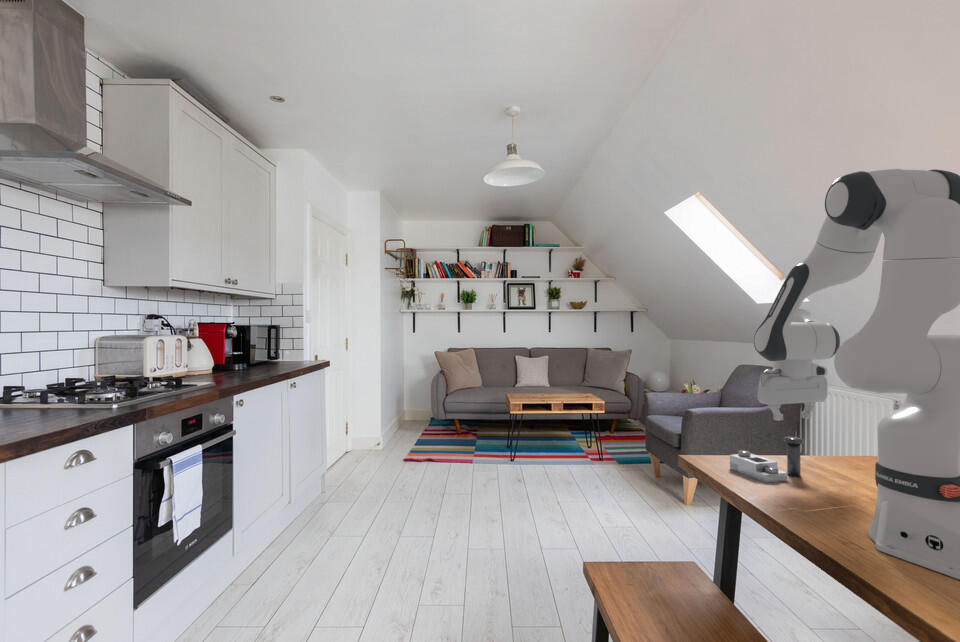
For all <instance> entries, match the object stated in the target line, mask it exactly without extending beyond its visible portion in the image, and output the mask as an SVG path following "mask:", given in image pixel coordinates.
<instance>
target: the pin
mask: <svg viewBox="0 0 960 642" xmlns="http://www.w3.org/2000/svg"><path fill="white" fill-rule="evenodd" d="M783 442H784V443H786V465H787V467H786V469H787V470H786V471H787V472H786V473H787V476H789V477H794V478H801V474H802V473H801V470H802V469H801V445H803V444H804V439H803V438H801V437H796V436H783Z"/></svg>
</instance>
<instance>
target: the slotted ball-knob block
mask: <svg viewBox="0 0 960 642" xmlns="http://www.w3.org/2000/svg"><path fill="white" fill-rule="evenodd" d="M729 469H730V470H731V471H734V472H737V473H740V474H741V475H742V474H743V475H744V476H748V477H750V478H752V479H755V480H758V481H760V482H763V483H765V484H767V483H777V482H783V481H784V482H786V481H788V475H787V472H786V471H783V470H780V469H779V468H778V461H775V460H773V459H769V458H766V457H763V456H761V455H758V454H754V453H751V451H749V450H738V451H737V454H735V453H734V454H729Z"/></svg>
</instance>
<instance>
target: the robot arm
mask: <svg viewBox="0 0 960 642" xmlns="http://www.w3.org/2000/svg"><path fill="white" fill-rule="evenodd" d="M825 195H826V196H825V199H824V210H825V214H826V216H825V219H824V222H822V225H821V227H820V230H819V232H818V236H817V238H816V242H815V244H814V245H813V248H812V249H811V251H810V253H808V255H807V256H806V257H805V258H804V259H803V260H802V261H801V262H800V263H798V264H797V265H795V266H794V267H792V269H791V270H790V271H789V272H788V274H787V276H786V277H785V279H784V281H783V284H782V285H781V287H780V290H779V291H778V293H777V295H776V297H775V299H774V301H773V303H772V305H771V307H770V309H769V311H768V313H767V315H766V316H765V318H764V320H763V321H762V322H761V324H760V325H759V326H758V328H757V330H755V333H754V336H753V337H754V338H753V346H754V349H755V351H756V352H757V353H758V354H759V355H760V356H761V357H762V358H763V359H765V360H767V361H769V362H772V363H773V364H772V369H765V370H764V371H763V372H762V373H761V374H760V377H759V382H758V387H757V401H758V402H759V403H760V404H763V405H769V409H770V411H771V412H772V414H773V416H772V417H773V421H777V422H779V421H781V422H782V421H784V414H783V413H781V411H780V409H781V405H788V404H789V405H792V404H803V406H804V407H803V411H801V412H800V417H801V419H806V420H809V419H812V412H813V410H814V409H815V407H816V403H823V402H825V401H826V400H827V398H828V379H827V377H826V376H827V375H828V368H827V367H824V366H821V365H819V364H817V363H814V362H813V360H814V361H815V360H819V361H820V360H827V359H831V358H832V357H834V359H833V360H834V361H833V363H834V369H835V372H836V375H838V378H839V379H840V380H841V381H842V382H843V383H844V384H845V385H846V386H847V387H848V388H849V387H850V388H852V389H856V390H860V391H864V392H870V393H878V394H902V395H903V394H905V395H906V397H905V399H904V401H903V403H902V404H901V406H900V407H899V408H898V409H897V410H895V411H894V412H891V413H889V414H888V415H885V416H884V417H883V418H882V419H880V421H879V423H878V425H877V461H876V462H875V465H874V477H875V478H874V479H875V484H876V485H875V486H876V488H877V492H876V493H877V494H876V500H875V501H876V502H875V508H874V513H873V517H872V521H871V523H870V527H869V529H868V531H867V534H868V537H869V538H870V539H871V540H872V541H873V543H875V545H874V547H875V549H876V550H878V551H879V552H883V553H885V554H888V555H891V556H892V557H896V558H899V559H902V560H903V561H907V562H910V563H912V564H915V565H918V566H920V567H923V568H926V569H929V570H932V571H935V572H937V573H940V574H943V575H946V576H949V577H952V578H954V579H957V580H960V335H958V334H929V332H930V330H931V328H932V326H933V324H934V323H936V321H937V320H938V319H939V318H940V317H941V316H944V314H947V313H948V312H951V311H953V310H955V309H956V308H957V307H958V306H959V305H960V175H959V174H957V173H955V172H952V171H950V170H949V171H948V170H943V169H929V170H926V169H921V170H920V169H901V168H891V169H889V168H888V169H879V170H871V171H864V170H862V171H861V170H860V171H856V172H851V173H847V174H844V175H842V176H839V177H837V178H836V179H835V180H834V181H833V183H831V185H830V186H829V188H828V190H827V192H826V194H825ZM882 234H883V236H884V237H883V238H884V244H883V245H884V246H883V253H882V254H883V255H882V263H881V264H882V265H881V267H882V268H881V277H880V287H879V294H878V299H877V302H876V305H875V307H874V310H873V312H872V314H871V316H870V317H869V319H868V320H867V322H866V323H865V324H864V325H863V326H862V328H861V329H860V330H859V331H857V333H855V334H854V335H852V336H851V337H849V338H848V339H846V340H844V341H843V342H842V343H841V337H840V334H839V332H838V330H837V329H836V328H835V327H834V326H833V324H830V323H829V322H827V323H826V322H823V321H821V320H819V319H816V318H815V317H813V316H812V315H811V313H810V311H809V310H807V309H801V308H800V307H801V305H802V303H803V301H805V300H806V299H808V297H809V296H811V295H813V294H815V293H817V292H820V291H822V290H825V289H828V288H830V287H834V286H838V285H841V284H844V283H848V282H851V281H853V280H854V279H856V278H858V277H860V276H862V275H863V274H864V273H865V271H866V270H868V267H869V266H870V265H871V263H872V261H873V259H874V256H875V253H876V252H877V251H876V250H877V248H878V245H879V243H880V240H881V236H882Z"/></svg>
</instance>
